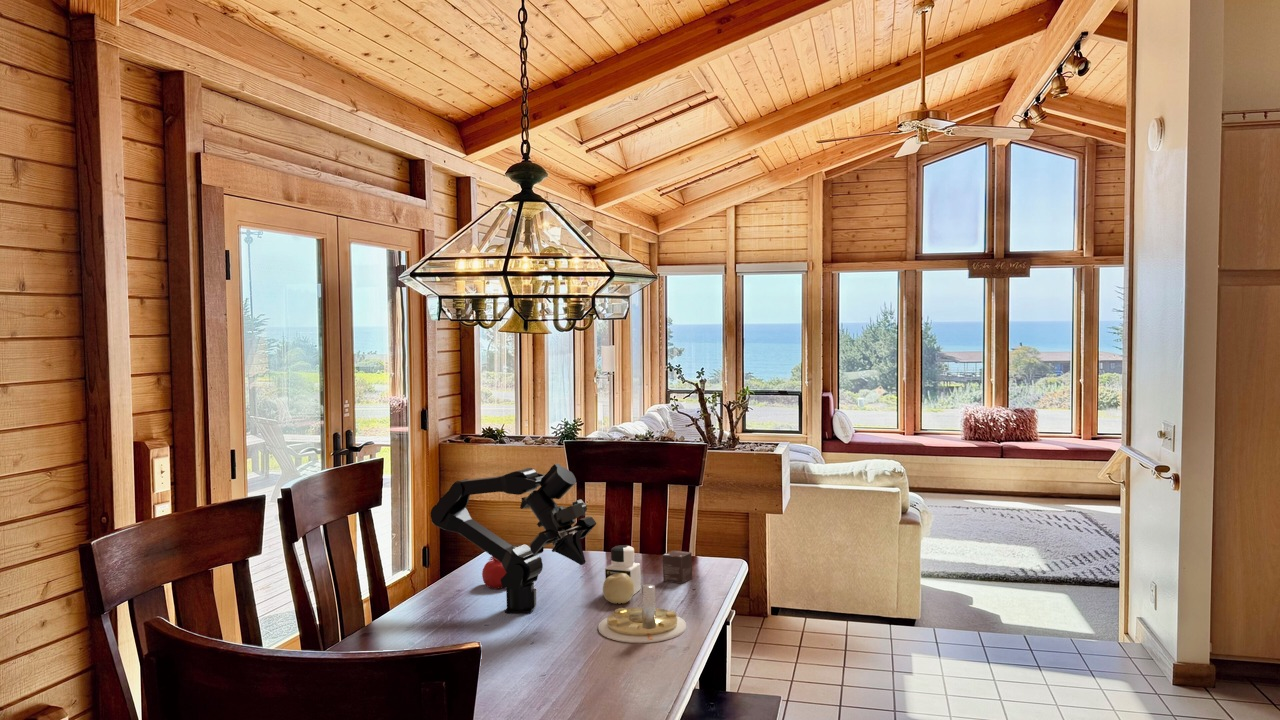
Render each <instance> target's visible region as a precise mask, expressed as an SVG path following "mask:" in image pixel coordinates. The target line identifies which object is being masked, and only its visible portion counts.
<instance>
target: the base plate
mask: <svg viewBox="0 0 1280 720" xmlns="http://www.w3.org/2000/svg"><path fill="white" fill-rule="evenodd" d="M676 616H677V615H676ZM607 618H608V617H605V618H603V620H601V621H600V622H599V624H598V633H600V634H601V636H603V637H605V638H607V639H609V640H613V641H617V642H621V643H631V644H648V643H657V642H664V641H668V640H671V639H674V638H676V637H679V636H680V635H682V634H684V633H685V631H686V629H687V623H686V621H685V620H684V619H683V618H682V617H679V616H677V626H676V627H675V628H674V629H672V630H670V631H668V632H665V633H661V634H655V635H645V636H635V635H625V634H620V633H617V632H614V631H612V630H610V629H609V628H608V626H607Z"/></svg>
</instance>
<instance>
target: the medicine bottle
mask: <svg viewBox="0 0 1280 720" xmlns="http://www.w3.org/2000/svg"><path fill="white" fill-rule="evenodd" d="M610 560H611V561H610V563H611V564H609V565H608V566H607V567H605V569H604V570H605V571H604V574H605V579H606V578H607V577H609V576H611V575H613V574H617V573H625V574H627V575H628V576H629V577H630V578H631V579H632V581H633V584H634V593H633V596H634V595H636V594H637V593H638V592H639V591H642V585H641V584H642V583H641V581H642V579H641V563H639V562H635V548H634V547H632V546H630V545H628V544H625V545H623V544H621V545H615V546H614V547H612V548H611V549H610Z"/></svg>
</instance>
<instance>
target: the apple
mask: <svg viewBox="0 0 1280 720" xmlns="http://www.w3.org/2000/svg"><path fill="white" fill-rule="evenodd" d="M633 593H634V584H633V581H632V579H631V578H630V577H629V576H628V575H627V574H625V573H617V574H613V575H611V576H609V577H607V578H606V577H605V580H604V582H603V584H602V594H603V597H604V598H605V600H606V601H608V602H609V603H611V604H617V603H618V604H620V605H621V603H622V604H626V603H628V602H629V601H631V600H632V597H633V596H634V595H633ZM618 604H617V605H618Z"/></svg>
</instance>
